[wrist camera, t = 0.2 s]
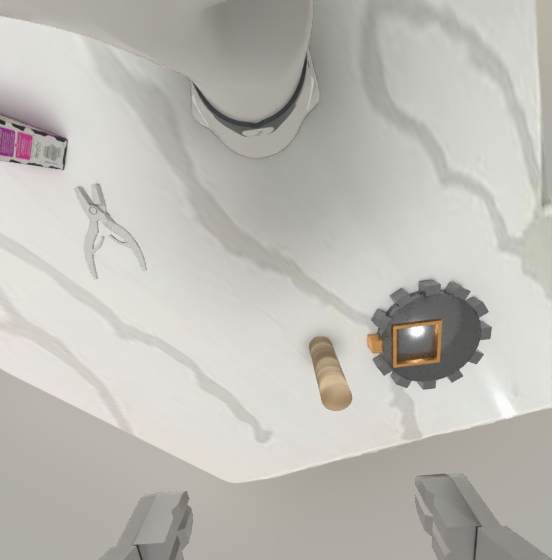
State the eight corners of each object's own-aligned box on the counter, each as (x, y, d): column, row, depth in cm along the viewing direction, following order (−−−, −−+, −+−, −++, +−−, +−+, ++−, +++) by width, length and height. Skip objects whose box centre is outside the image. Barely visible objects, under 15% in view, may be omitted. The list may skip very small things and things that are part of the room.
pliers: (89, 280, 46) (53, 191, 42) (95, 278, 48) (61, 191, 43) (144, 271, 46) (114, 180, 41) (148, 269, 47) (120, 180, 43)
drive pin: (308, 338, 51) (320, 388, 38) (330, 335, 51) (351, 384, 38) (310, 357, 53) (323, 412, 39) (332, 355, 53) (352, 409, 39)
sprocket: (365, 288, 48) (372, 295, 45) (486, 272, 48) (501, 278, 45) (369, 386, 55) (375, 398, 52) (475, 374, 54) (488, 385, 51)
